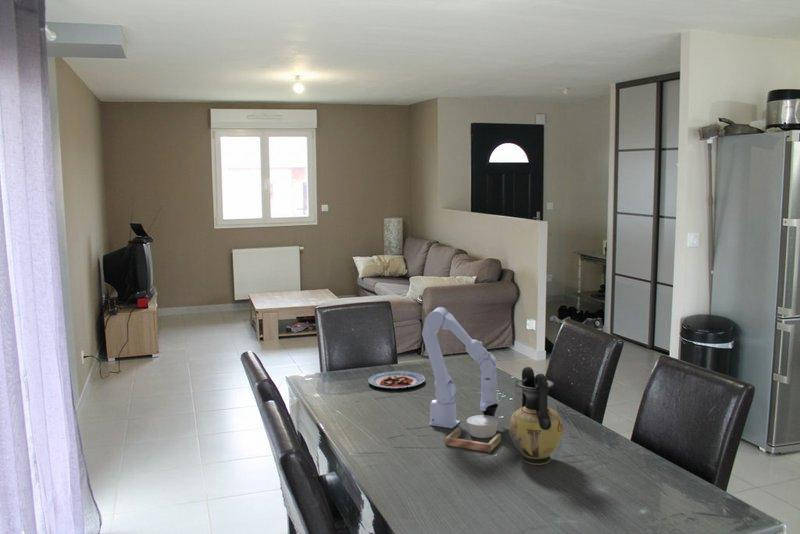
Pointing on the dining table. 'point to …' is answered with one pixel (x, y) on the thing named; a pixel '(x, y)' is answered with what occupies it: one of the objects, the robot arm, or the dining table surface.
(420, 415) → the dining table surface
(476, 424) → the ramekin
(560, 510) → the dining table surface
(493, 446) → the dock
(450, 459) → the dining table surface
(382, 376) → the ceramic plate
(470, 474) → the dining table surface
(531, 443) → the amphora
